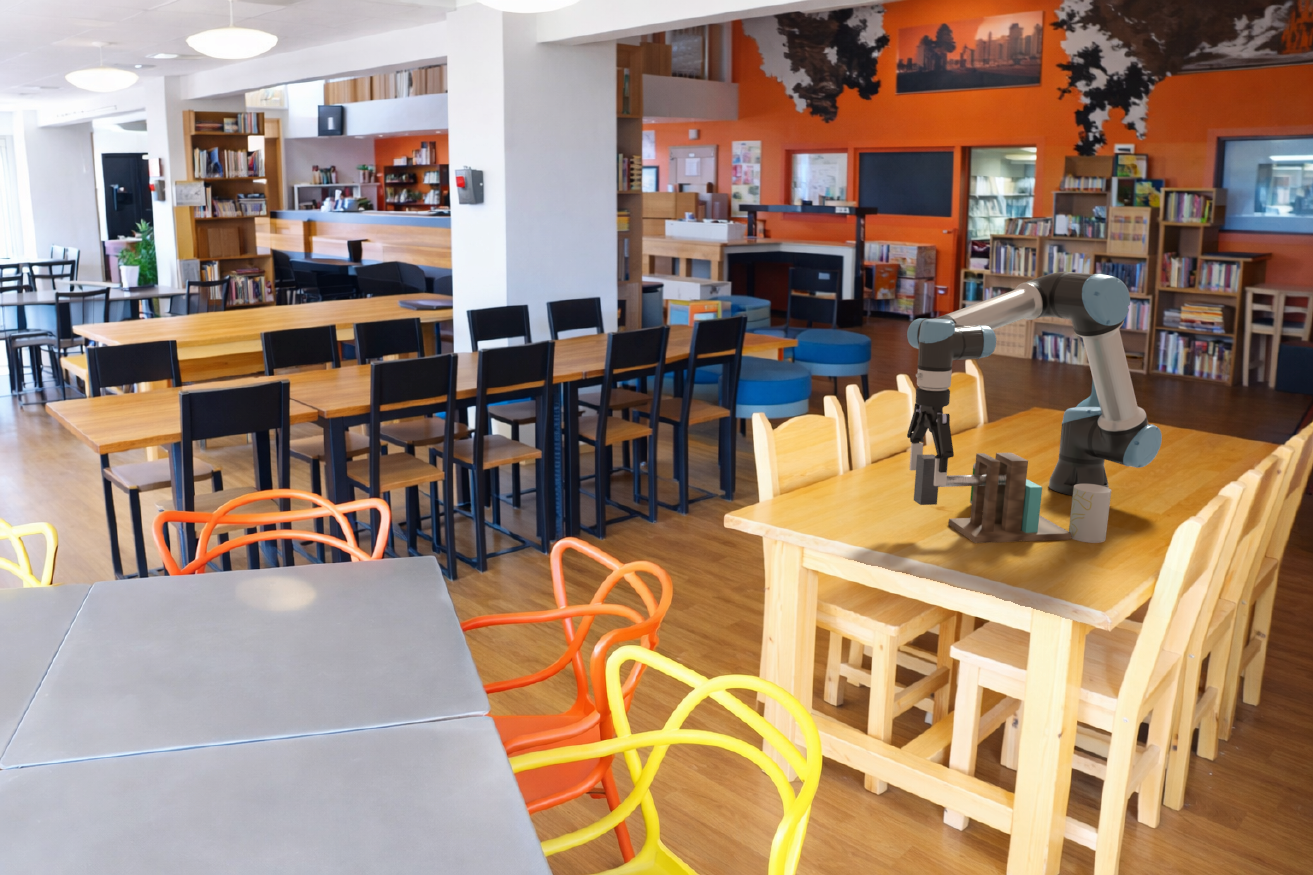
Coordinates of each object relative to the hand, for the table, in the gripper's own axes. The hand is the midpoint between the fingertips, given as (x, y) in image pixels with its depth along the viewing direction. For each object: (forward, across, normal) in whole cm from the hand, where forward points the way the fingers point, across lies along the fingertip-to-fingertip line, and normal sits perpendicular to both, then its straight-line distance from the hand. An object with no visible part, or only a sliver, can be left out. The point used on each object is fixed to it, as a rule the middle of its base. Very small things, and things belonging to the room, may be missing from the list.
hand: (927, 477), depth 242 cm
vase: (+16, -88, +99) cm, 134 cm away
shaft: (+6, 0, +9) cm, 11 cm away
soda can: (+15, -20, +25) cm, 35 cm away
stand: (+14, 0, +21) cm, 26 cm away
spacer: (+13, 0, +24) cm, 27 cm away
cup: (+15, +6, +38) cm, 41 cm away
